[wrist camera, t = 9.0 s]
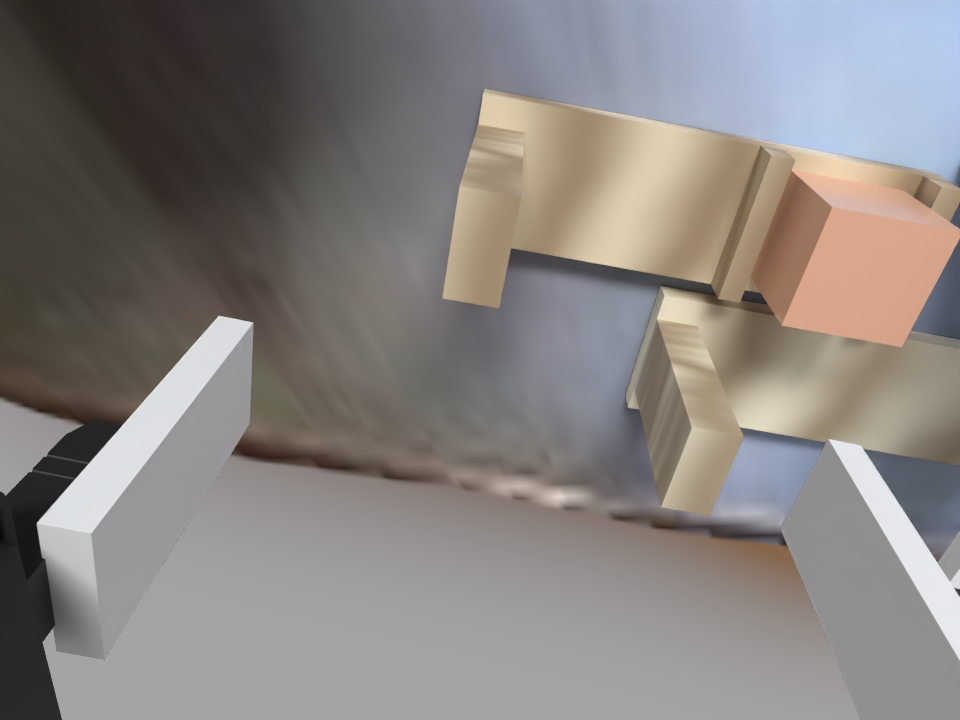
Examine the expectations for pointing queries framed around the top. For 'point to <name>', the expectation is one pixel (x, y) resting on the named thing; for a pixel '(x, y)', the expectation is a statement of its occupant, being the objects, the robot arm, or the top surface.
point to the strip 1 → (632, 195)
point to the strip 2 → (780, 391)
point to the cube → (851, 258)
